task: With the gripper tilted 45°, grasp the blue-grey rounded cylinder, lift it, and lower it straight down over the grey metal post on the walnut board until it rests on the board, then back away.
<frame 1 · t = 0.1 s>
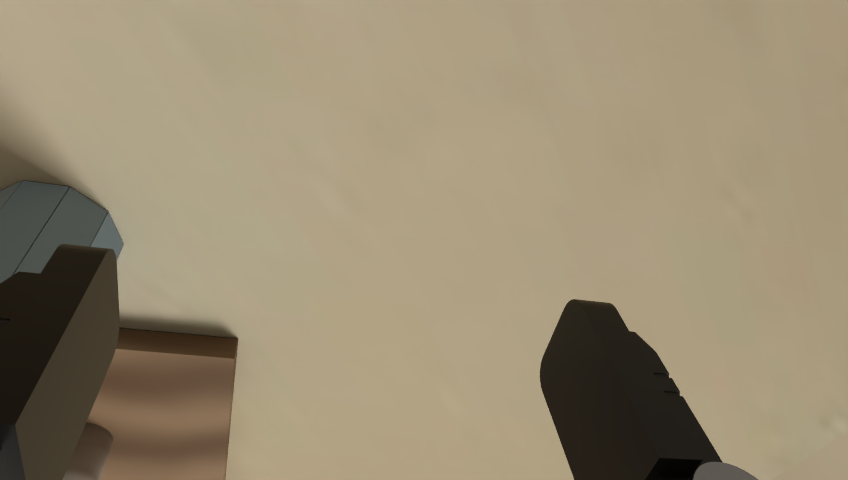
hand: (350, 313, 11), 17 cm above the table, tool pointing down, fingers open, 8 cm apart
post dock: (95, 416, 38), on the table
blue-grey rounded cylinder: (53, 235, 30), on the table
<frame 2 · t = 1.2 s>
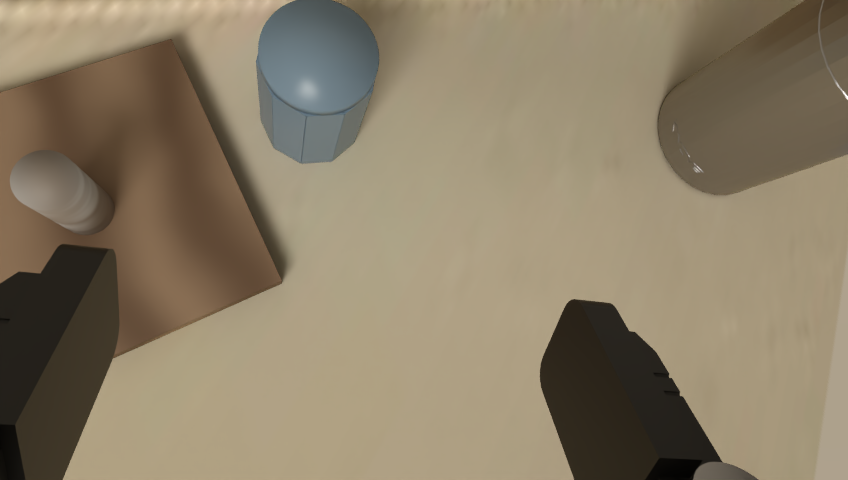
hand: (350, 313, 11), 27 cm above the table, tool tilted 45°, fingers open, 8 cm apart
post dock: (94, 215, 36), on the table
blue-grey rounded cylinder: (311, 117, 40), on the table
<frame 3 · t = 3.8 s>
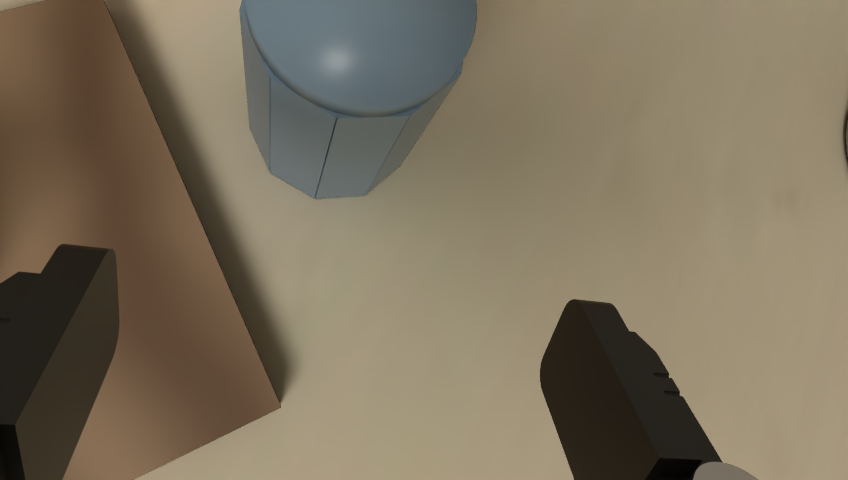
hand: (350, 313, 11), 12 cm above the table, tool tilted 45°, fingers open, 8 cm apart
blue-grey rounded cylinder: (331, 123, 24), on the table
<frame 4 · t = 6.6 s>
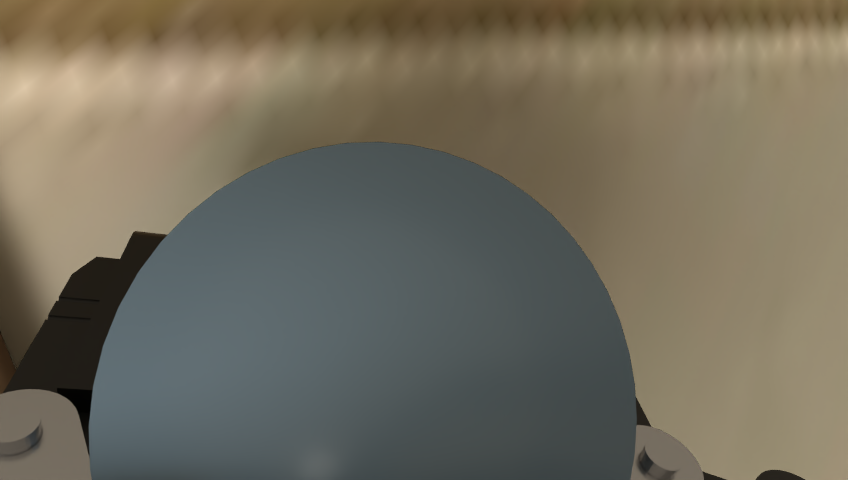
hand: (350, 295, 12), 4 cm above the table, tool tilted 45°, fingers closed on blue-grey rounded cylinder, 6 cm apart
blue-grey rounded cylinder: (323, 380, 15), on the table, touching gripper
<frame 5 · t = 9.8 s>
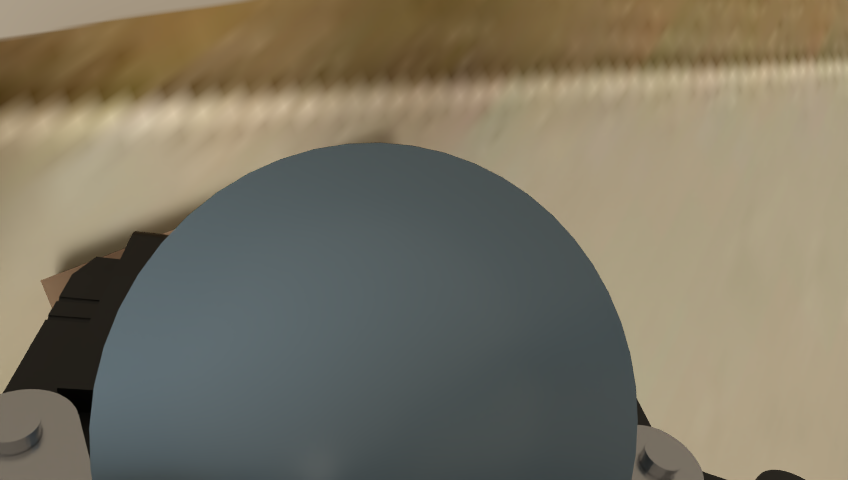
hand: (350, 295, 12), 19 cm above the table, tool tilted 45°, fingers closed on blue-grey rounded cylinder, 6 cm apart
post dock: (296, 370, 29), on the table
blue-grey rounded cylinder: (323, 381, 15), point 14 cm above the table, touching gripper
when the fingers open (7 cm above the table, at t = 13.1 s): blue-grey rounded cylinder drops 1 cm, resting on post dock.
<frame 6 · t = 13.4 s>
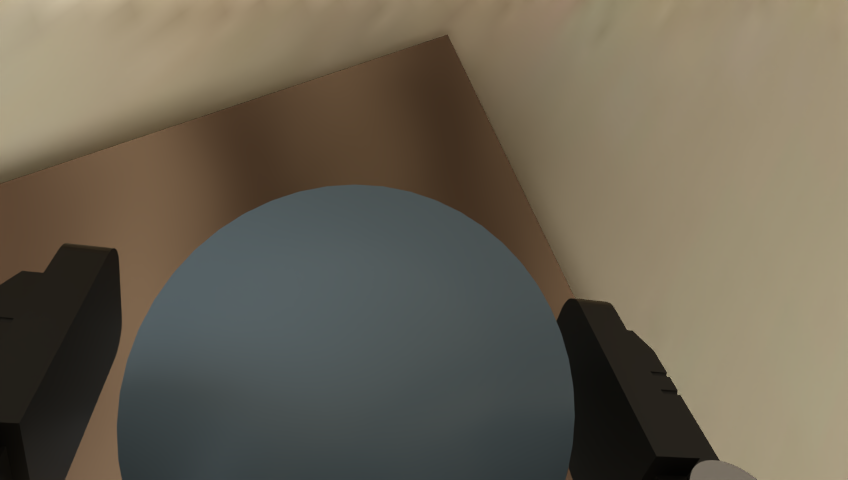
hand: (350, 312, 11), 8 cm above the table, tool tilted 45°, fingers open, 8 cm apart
post dock: (313, 378, 18), on the table
blue-grey rounded cylinder: (316, 383, 17), point 1 cm above the table, touching post dock
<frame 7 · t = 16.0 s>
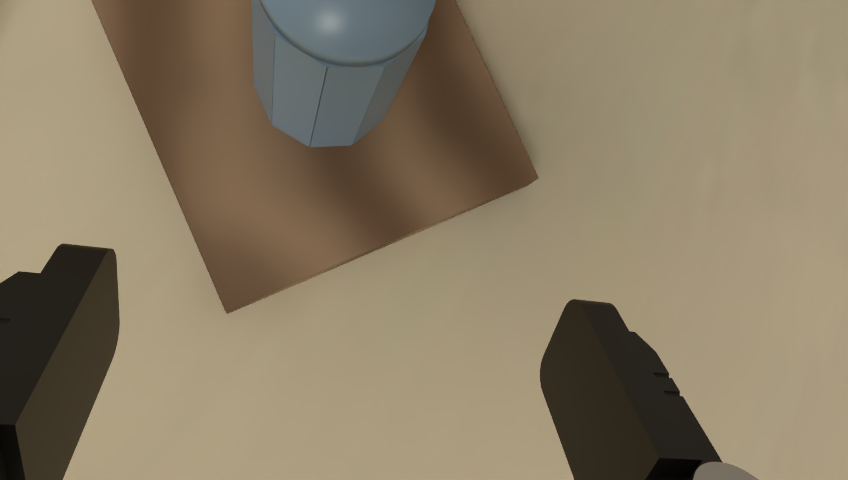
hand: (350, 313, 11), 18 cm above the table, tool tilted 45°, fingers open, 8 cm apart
post dock: (321, 95, 30), on the table
blue-grey rounded cylinder: (323, 84, 29), point 1 cm above the table, touching post dock
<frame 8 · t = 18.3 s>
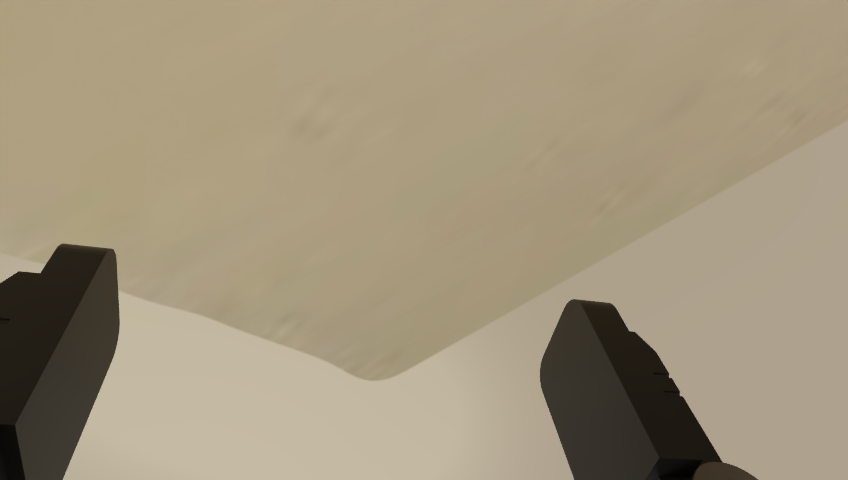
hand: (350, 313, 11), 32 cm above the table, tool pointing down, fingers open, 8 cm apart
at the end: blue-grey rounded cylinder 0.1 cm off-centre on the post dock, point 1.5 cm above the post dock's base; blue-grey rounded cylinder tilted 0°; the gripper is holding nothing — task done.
